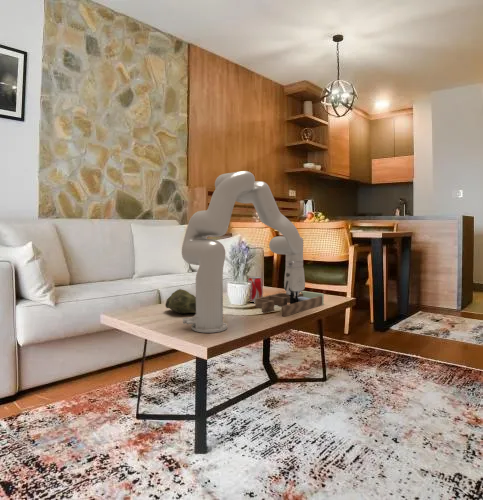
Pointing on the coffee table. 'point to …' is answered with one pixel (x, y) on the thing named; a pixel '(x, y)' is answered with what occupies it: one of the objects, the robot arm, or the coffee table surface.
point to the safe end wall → (312, 295)
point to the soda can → (255, 287)
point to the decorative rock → (181, 302)
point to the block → (302, 298)
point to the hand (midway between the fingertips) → (293, 306)
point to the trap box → (282, 300)
